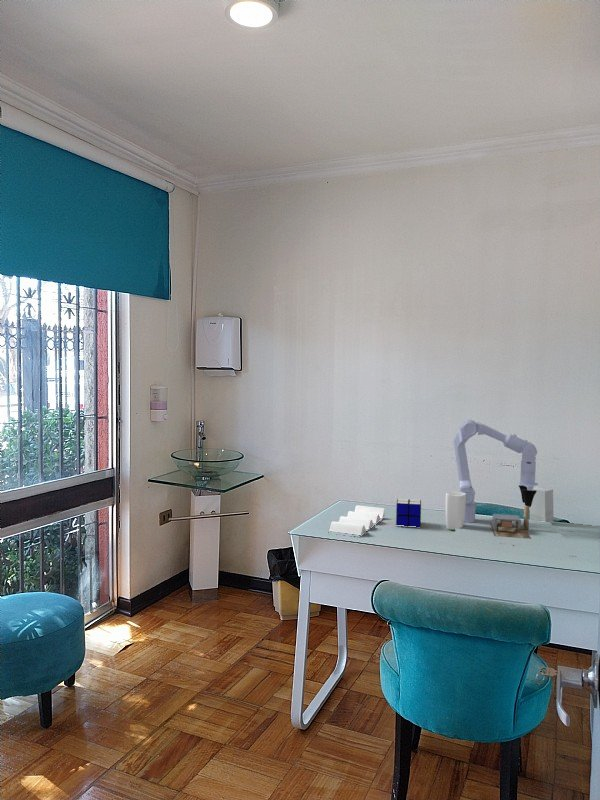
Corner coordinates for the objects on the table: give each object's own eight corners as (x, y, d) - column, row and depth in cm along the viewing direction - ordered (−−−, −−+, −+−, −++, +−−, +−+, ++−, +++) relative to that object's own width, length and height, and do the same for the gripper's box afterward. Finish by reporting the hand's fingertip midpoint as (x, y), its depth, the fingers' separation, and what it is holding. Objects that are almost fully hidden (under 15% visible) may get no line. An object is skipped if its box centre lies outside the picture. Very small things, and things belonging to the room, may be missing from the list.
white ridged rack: (327, 535, 247) (328, 522, 247) (355, 516, 280) (355, 505, 279) (359, 539, 242) (360, 526, 242) (384, 519, 274) (384, 508, 274)
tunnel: (494, 531, 249) (494, 518, 249) (492, 526, 257) (492, 513, 257) (520, 533, 247) (520, 520, 247) (517, 528, 255) (518, 515, 255)
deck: (494, 539, 242) (494, 535, 242) (489, 527, 262) (490, 523, 262) (530, 542, 240) (531, 538, 240) (523, 529, 259) (523, 525, 259)
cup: (443, 530, 256) (444, 494, 255) (448, 526, 262) (449, 491, 261) (461, 532, 252) (462, 496, 252) (465, 528, 259) (466, 493, 258)
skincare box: (553, 523, 270) (554, 489, 269) (544, 525, 267) (546, 490, 266) (536, 519, 277) (537, 486, 276) (528, 521, 274) (529, 487, 273)
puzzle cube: (395, 526, 260) (396, 503, 260) (396, 521, 270) (397, 498, 269) (420, 528, 258) (421, 504, 258) (420, 522, 268) (420, 499, 268)
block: (501, 530, 250) (501, 520, 250) (500, 528, 254) (500, 518, 254) (511, 531, 250) (512, 521, 249) (510, 529, 253) (511, 519, 253)
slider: (498, 530, 249) (499, 507, 249) (496, 526, 257) (497, 503, 256) (530, 532, 247) (531, 509, 246) (528, 528, 254) (529, 505, 253)
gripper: (541, 475, 251) (539, 509, 252) (535, 469, 265) (534, 501, 266) (522, 474, 252) (521, 507, 253) (517, 469, 266) (516, 500, 267)
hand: (526, 504), depth 259 cm, fingers open, 7 cm apart
